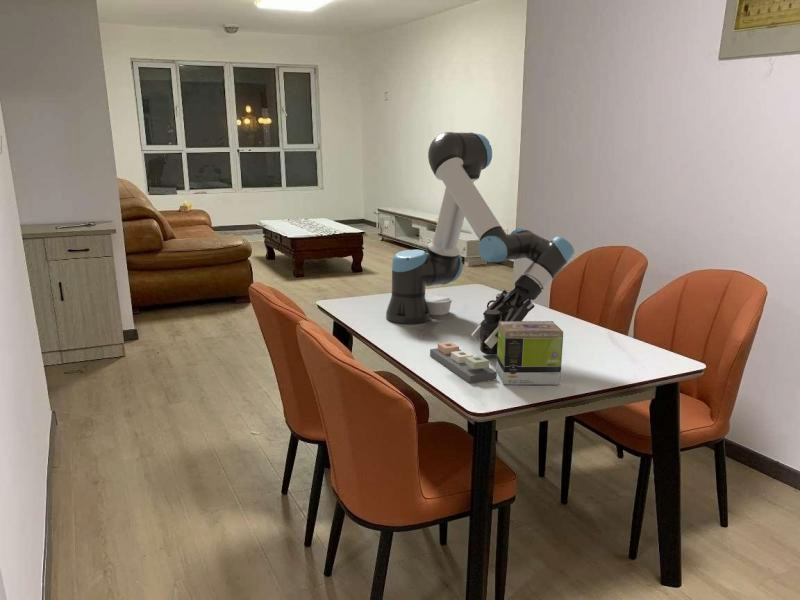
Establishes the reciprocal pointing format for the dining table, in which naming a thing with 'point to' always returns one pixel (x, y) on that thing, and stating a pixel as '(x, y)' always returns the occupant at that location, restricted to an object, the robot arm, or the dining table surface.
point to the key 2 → (477, 362)
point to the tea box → (529, 352)
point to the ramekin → (438, 304)
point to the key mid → (460, 356)
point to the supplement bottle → (489, 330)
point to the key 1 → (448, 347)
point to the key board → (463, 368)
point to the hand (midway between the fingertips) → (481, 341)
